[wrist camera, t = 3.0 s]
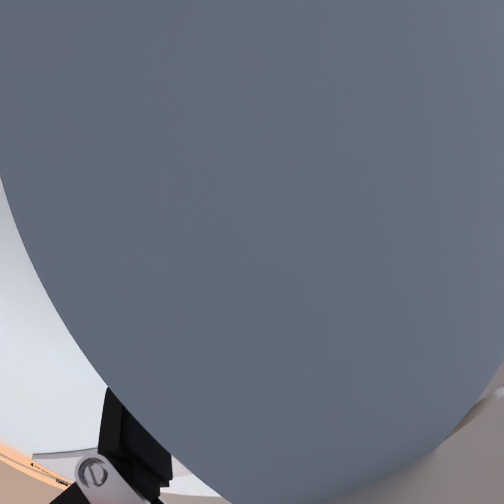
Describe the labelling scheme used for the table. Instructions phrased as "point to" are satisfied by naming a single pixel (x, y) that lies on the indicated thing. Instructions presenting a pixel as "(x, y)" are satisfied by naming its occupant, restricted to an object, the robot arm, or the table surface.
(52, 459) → the baseboard molding
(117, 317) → the blue rectangular block
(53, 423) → the table surface
